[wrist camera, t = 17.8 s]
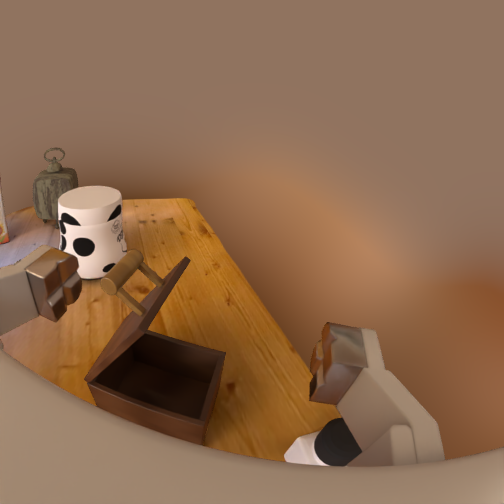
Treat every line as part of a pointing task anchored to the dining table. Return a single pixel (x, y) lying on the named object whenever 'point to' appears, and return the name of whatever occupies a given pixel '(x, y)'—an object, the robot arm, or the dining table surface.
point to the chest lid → (133, 305)
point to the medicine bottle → (325, 446)
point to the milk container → (92, 229)
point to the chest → (162, 386)
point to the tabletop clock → (52, 188)
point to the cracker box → (3, 221)
